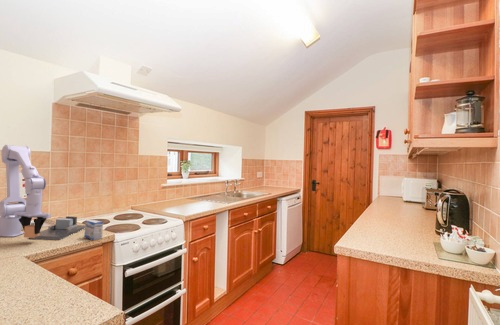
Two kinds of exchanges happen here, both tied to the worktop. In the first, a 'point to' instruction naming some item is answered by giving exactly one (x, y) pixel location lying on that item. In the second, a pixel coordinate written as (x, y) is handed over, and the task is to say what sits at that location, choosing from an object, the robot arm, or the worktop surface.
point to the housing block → (30, 231)
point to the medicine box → (93, 229)
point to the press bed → (58, 232)
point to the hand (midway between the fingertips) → (31, 233)
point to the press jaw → (65, 222)
